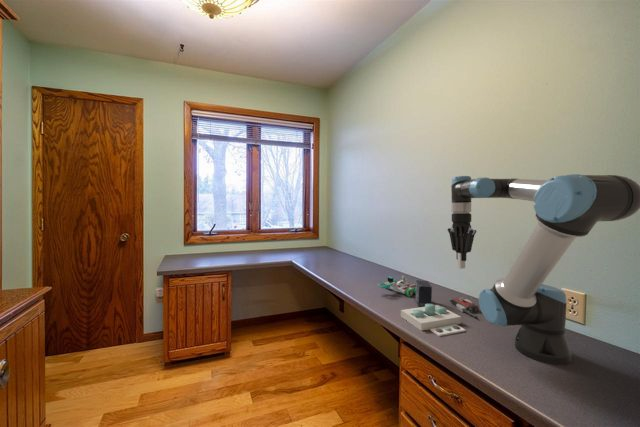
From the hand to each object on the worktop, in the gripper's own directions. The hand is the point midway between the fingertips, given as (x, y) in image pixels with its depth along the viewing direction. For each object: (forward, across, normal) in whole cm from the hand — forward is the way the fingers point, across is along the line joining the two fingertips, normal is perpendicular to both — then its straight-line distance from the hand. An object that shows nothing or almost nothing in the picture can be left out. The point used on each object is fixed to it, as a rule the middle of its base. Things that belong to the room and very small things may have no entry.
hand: (461, 268), depth 118 cm
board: (+23, +6, +11) cm, 26 cm away
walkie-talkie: (+24, +9, -14) cm, 29 cm away
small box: (+23, +23, 0) cm, 32 cm away
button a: (+23, +6, +5) cm, 24 cm away
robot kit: (+22, +42, +3) cm, 48 cm away
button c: (+23, +7, +17) cm, 29 cm away
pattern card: (+24, -4, +12) cm, 26 cm away
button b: (+21, +6, +11) cm, 24 cm away
